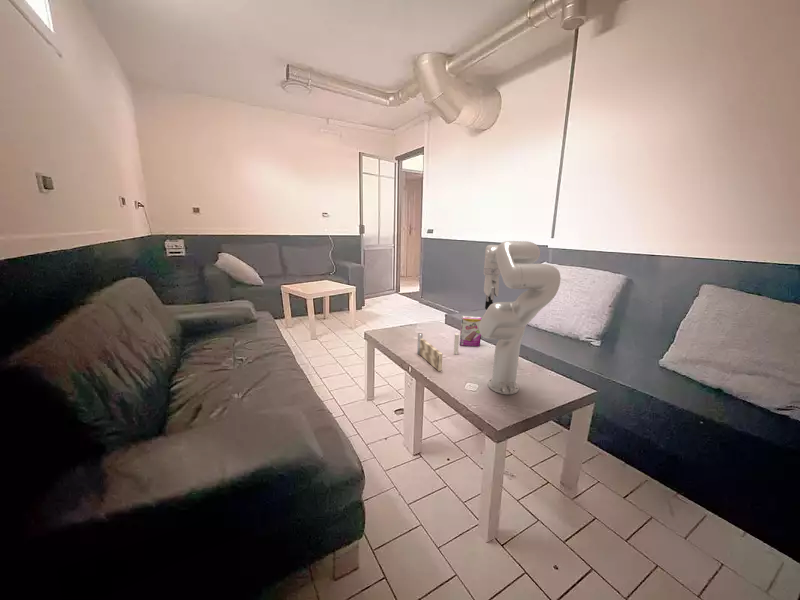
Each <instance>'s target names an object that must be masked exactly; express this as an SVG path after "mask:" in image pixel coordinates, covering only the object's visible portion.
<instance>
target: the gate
mask: <svg viewBox="0 0 800 600" xmlns="http://www.w3.org/2000/svg"><path fill="white" fill-rule="evenodd" d="M419 356H421V357H422V358H423V359H425V361H427V362H428V363H429V364H430V365H431V366H432V367H434V368H435V369H436V370H437V371H438V372H441V371H442V370H443V369H442V367H443V353H442V352H441V351H440V350H439V349H437V347H435V346H433V345H432V344H431V343H429V342H428V341H427V340H425V339H424V338H422V339H420V355H419Z"/></svg>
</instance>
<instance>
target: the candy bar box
mask: <svg viewBox="0 0 800 600" xmlns="http://www.w3.org/2000/svg"><path fill="white" fill-rule="evenodd" d="M482 317H483V316H470V315H461V321H460V332H459V346H461V347H481V340H482V335H481V334H480V331H479V325H480V321H481V319H482Z"/></svg>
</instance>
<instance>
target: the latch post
mask: <svg viewBox="0 0 800 600" xmlns="http://www.w3.org/2000/svg"><path fill="white" fill-rule="evenodd" d="M453 339H454V340H453V341H454V342H453V343H454V344H453V355H459V345H460V332H458V333H456V332H455V333H454V338H453Z"/></svg>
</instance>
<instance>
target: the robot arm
mask: <svg viewBox="0 0 800 600" xmlns="http://www.w3.org/2000/svg"><path fill="white" fill-rule="evenodd" d="M540 254H541V250H540V247H539V246H538V245H537V244H536V243H534V242H533V241H532V242H531V241H529V240H528V241H527V240H525V241H524V240H522V241H521V240H520V241H519V240H517V241H515V240H507V241H506V240H505V241H502V242H500V243H499V244H498V245H497V244H488V245H487V246H486V247H485V252H484V267H483V275H484V284H483V293H484V294H485V305H484V309H485V312H484V314H483V315H482V316H481V317H482V319H481V321H480V325H479V331H480V334H481V338H483V339H485V340H498V341H497V343H496V345H495V347H494V348H495V349H494V355H493V356H494V357H493V366H492V376H491V378H489V380H488V381H487V386H488V388H489V389H490V390H491V391H493V392H495V393H497V394H501V395H515V394H517V393H518V392H519V391H520V386H519V384H518V383H517V374H518V366H519V357H520V351H521V345H522V340H523V338H524V336H525V335H524V334H525V330H526V326H527V325H528V324H529V323H530V322H531V321H532V320H533V319H534V318H535V316H537V315H538V313H539V312H540V311H541V310H542V309H543V308H544V307H546V306H547V305H548V304H549V303H550V302H552V300H554V298H555V296H556V295H557V293H558V291H559V288H560V285H561V280H562V279H561V273H560V271H559V269H557V267H555V266H553V265H551V264H546V263H536V262H537V261H538V260H539V258H540ZM500 276H501V279H502V281H503V284H504V285H505V286H506V288H509V289H512V290H525V291H523V292H522V293H520V295H518V297H517V298H516V299H515V301H497V302H494V299H495V297H499V288H500V287H499V286H500Z"/></svg>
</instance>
